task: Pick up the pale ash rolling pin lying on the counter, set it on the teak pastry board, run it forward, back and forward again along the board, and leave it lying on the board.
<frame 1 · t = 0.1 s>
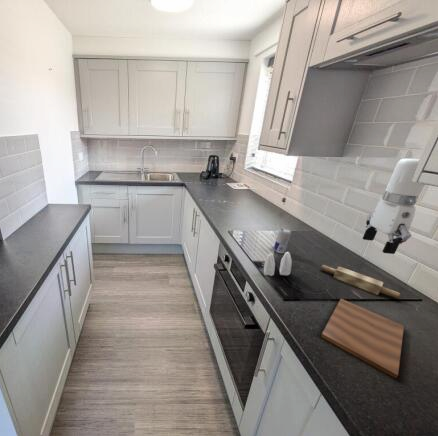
hand: (377, 246, 80), 21 cm above the worktop, tool pointing down, fingers open, 9 cm apart
shaker set: (276, 274, 99), on the worktop
pastry board: (361, 334, 71), on the worktop
energy drink: (279, 251, 117), on the worktop
rolling pin: (354, 284, 94), on the worktop
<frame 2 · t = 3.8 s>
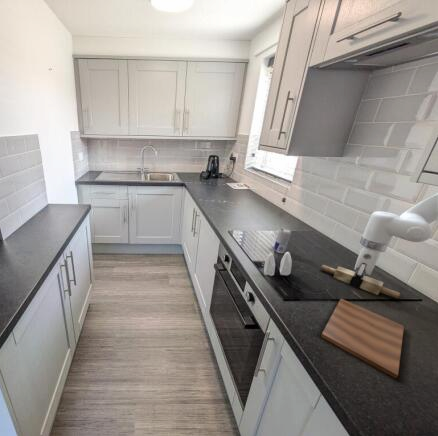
hand: (355, 283, 93), 1 cm above the worktop, tool pointing down, fingers closed on rolling pin, 4 cm apart
rolling pin: (354, 284, 94), on the worktop, touching gripper
everything else where it was.
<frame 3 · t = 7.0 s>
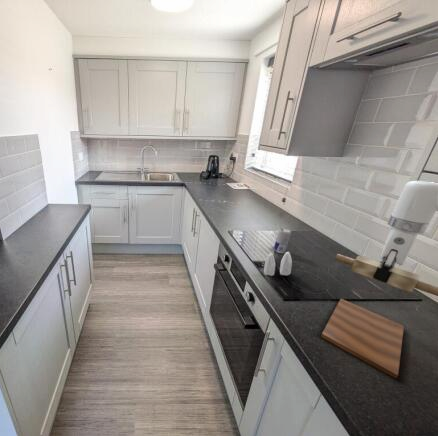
hand: (381, 276, 73), 15 cm above the worktop, tool pointing down, fingers closed on rolling pin, 4 cm apart
rolling pin: (379, 278, 73), point 15 cm above the worktop, touching gripper
everything else where it was.
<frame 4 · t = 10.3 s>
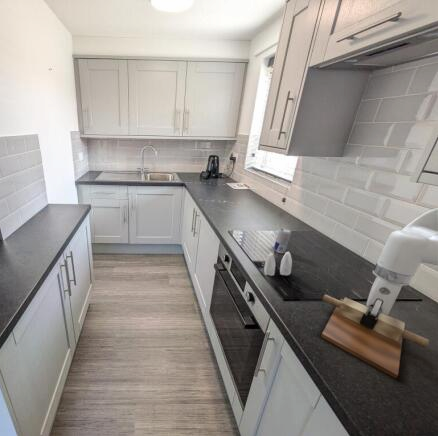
hand: (367, 321, 72), 3 cm above the worktop, tool pointing down, fingers closed on rolling pin, 4 cm apart
rolling pin: (366, 323, 72), point 2 cm above the worktop, touching gripper
everything else where it was.
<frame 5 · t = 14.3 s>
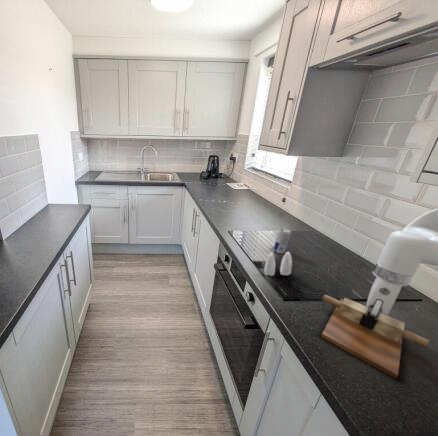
hand: (367, 321, 72), 3 cm above the worktop, tool pointing down, fingers closed on rolling pin, 4 cm apart
rolling pin: (366, 323, 72), point 2 cm above the worktop, touching gripper
everything else where it was.
when the fingers open (2 cm above the worktop, at t = 17.1 s): rolling pin stays where it is, resting on pastry board.
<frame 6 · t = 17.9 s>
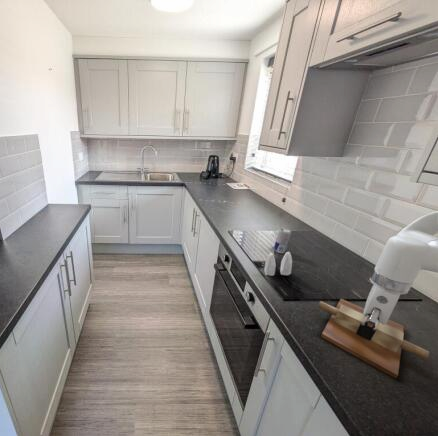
hand: (365, 328, 68), 4 cm above the worktop, tool pointing down, fingers open, 9 cm apart
rolling pin: (363, 332, 69), point 2 cm above the worktop, touching pastry board
everything else where it was.
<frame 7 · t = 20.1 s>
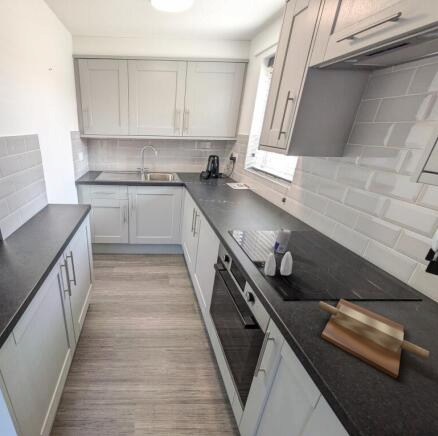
hand: (432, 267, 68), 21 cm above the worktop, tool pointing down, fingers open, 9 cm apart
nothing on the worktop moved.
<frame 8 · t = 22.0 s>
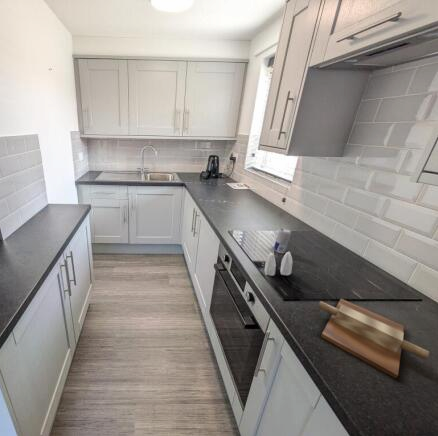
nothing on the worktop moved.
at the end: rolling pin inside the target area on the pastry board (1.4 cm from its centre), point 1.8 cm above the pastry board's base; rolling pin moved 32.3 cm from its start; the gripper is holding nothing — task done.
